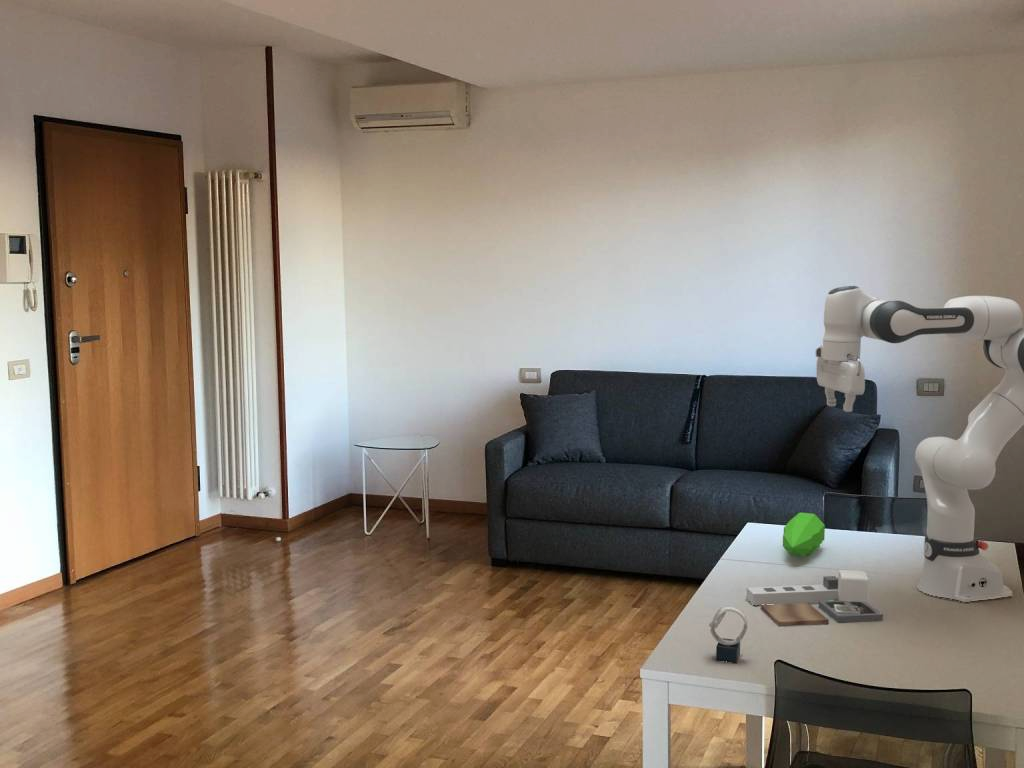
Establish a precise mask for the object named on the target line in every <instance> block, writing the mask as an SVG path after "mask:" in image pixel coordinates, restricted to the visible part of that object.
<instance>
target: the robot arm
mask: <svg viewBox="0 0 1024 768" xmlns="http://www.w3.org/2000/svg"><path fill="white" fill-rule="evenodd" d="M824 302H825V304H824V312H823V325H824V335H823V338H822V340H823V341H822V344H821V345H820V346H818V347H817V348H816V349H815V357H816V358H817V360H816V368H815V369H816V381H817V384H818V386H820V387H824V394H825V397H826V405H827V406H829V407H835V406H837V399H836V397H835V392H836V391H838V392H840V393H844V398H845V401H844V403H842V411H844V412H845V413H846V412H847V413H849V412H850V413H851V412H853V406H854V403H855V401H856V398H857V397H856V396H862V395H864V393H865V390H866V381H865V380H866V378H865V377H866V375H865V368H864V364H862V361H861V343H862V338H863V337H865V338H869V339H873V340H879V341H883V342H887V343H890V344H901V343H904V342H906V341H908V340H910V339H912V338H915V337H918V336H921V335H922V336H924V335H942V334H943V335H946V336H947V337H949V338H952V339H957V340H962V341H983V348H982V349H983V354H984V356H985V358H986V360H987V361H988V362H989V363H990V364H992V365H993V366H995V367H996V368H999V369H1004V370H1005V373H1004V376H1003V377H1002V379H1001V381H1000V383H999V384H998V385H996V386H995V387H994V388H993V389H992V390H991V391H990V392H989V393H988V394H987V395H986V396H985V397H984V398H983V399H982V400H981V401H980V402H979V403H978V405H976V406H975V407H974V408H973V409H972V411H971V412H970V413H969V414H968V417H967V422H968V423H967V426H966V427H965V430H964V431H963V433H962V435H961V436H960V437H959V438H958V439H954V438H951V437H947V436H930V437H927V438H926V437H925V439H923V440H922V441H920V442H919V444H918V445H917V447H916V449H915V453H914V457H915V462H916V465H917V466H918V468H919V470H920V474H921V477H922V480H923V486H924V490H925V491H924V492H925V497H926V502H927V503H926V504H927V516H926V517H927V518H926V519H927V520H926V521H927V522H926V534H925V535H924V541H923V543H924V545H923V553H924V554H923V555H924V559H923V560H924V561H923V567H922V571H921V575H920V579H919V582H918V584H917V586H916V587H917V589H918V591H919V592H921V591H922V592H921V593H923V594H925V593H927V594H926V595H928V594H929V596H931V595H933V596H932V597H935V596H938V597H937V598H939V597H945V598H951V599H950V600H952V599H957V600H963V601H971V600H975V599H982V598H988V597H994V596H1002V595H1011V594H1012V595H1013V591H1012V590H1011V589H1010V588H1009V587H1008V586H1007V585H1005V584H1004V580H1003V579H1004V578H1003V575H1002V574H1003V573H1002V572H1001V570H1000V568H999V567H998V566H997V565H995V564H994V562H992V561H990V560H989V559H988V558H986V556H984V555H983V554H981V552H980V550H982V551H987V550H988V549H989V544H988V542H986V541H983V540H979V539H977V538H975V535H974V534H975V518H976V517H975V515H976V510H975V506H974V503H973V502H972V500H971V498H970V495H969V492H968V490H969V491H970V490H973V491H974V490H975V491H977V490H983V489H984V488H986V487H988V486H989V485H990V484H991V483H992V482H993V480H994V478H995V476H996V462H997V460H998V457H999V455H1000V454H1001V451H1002V450H1003V449H1004V447H1005V445H1006V444H1007V443H1009V441H1010V440H1011V438H1013V436H1014V435H1015V434H1017V432H1019V430H1020V429H1021V428H1022V427H1023V426H1024V325H1023V316H1024V315H1023V310H1022V308H1021V306H1020V304H1019V303H1018V302H1017V301H1015V300H1013V299H1010V298H1005V297H999V296H992V295H966V296H958V297H955V298H951V299H949V300H947V301H946V303H945V304H944V305H943V306H942V307H916V306H914V305H912V304H911V303H909V302H906V301H903V300H884V299H880V298H877V297H875V296H872V295H870V294H869V293H866V292H865V291H864V290H862V289H861V288H860V287H859V286H857V285H847V286H840V287H839V286H838V287H835V288H833V289H831V290H830V291H828V294H827V295H826V298H825V301H824ZM1004 589H1007V590H1009V591H1005V590H1004ZM945 598H944V599H945Z"/></svg>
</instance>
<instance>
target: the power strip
mask: <svg viewBox="0 0 1024 768" xmlns="http://www.w3.org/2000/svg"><path fill="white" fill-rule="evenodd" d="M822 577H823V578H822V580H823V581H822V584H805V585H804V584H803V585H801V584H799V585H780V586H779V585H778V586H758V587H757V586H755V587H752V586H751V587H746V598H745V599H746V600H747V601H748V600H749V601H750V602H751V603H752V604H753V605H762V604H764V605H767V604H797V603H809V604H819V601H829V600H834V601H837V600H839V596H838V577H837V576H836V575H830V576H828V575H827V576H822ZM749 601H748V602H749ZM750 602H749V603H750ZM751 603H750V604H751ZM752 604H751V605H752ZM753 605H752V606H753Z"/></svg>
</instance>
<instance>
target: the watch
mask: <svg viewBox="0 0 1024 768" xmlns="http://www.w3.org/2000/svg"><path fill="white" fill-rule="evenodd" d="M727 612H733V613H735V614H737V615H739V617H741V619H742V620H743V623H744V625H743V629H742V630H741V632H740V633H739V635H738V636H737V637H736V638H735V639H733V638H724V637H723V638H722V637H720V636H719V635H718V633H717V632H716V631H715V629H717V628H718V627H719V625H720V623H721V622H722V621H723V618H724V617H725V615H726V614H727ZM748 622H749V621H748V619H747V615H746V614H745V613H744V612H743V611H742V610H741V609H739V608H738V607H735V606H730V605H729V606H728V605H727V606H724V607H722V606H721V607H720V608H719V609H718V611H717V612H716V613H715V614H714V616H713V618H712V619H711V621H710V623H709V628H710V630H709V631H710V634H711V636H712V637H713V639H714V640H715V641H716V642H717V645H716V649H715V652H716V653H715V661H716V662H721V661H724V662H723V663H729V662H733V663H732V664H738V661H739V658H740V654H741V641H742V640H743V638H744V637H745V634H746V632H747V629H748V627H749V625H748ZM737 660H738V661H737ZM726 661H727V662H726Z"/></svg>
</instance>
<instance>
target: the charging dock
mask: <svg viewBox="0 0 1024 768" xmlns="http://www.w3.org/2000/svg"><path fill="white" fill-rule="evenodd" d="M850 603H851V604H852V605H853V606H860V607H862V608H863V609H864V610H863V609H862V608H861V609H862V610H863V611H864V612H866V613H860V614H848V615H840V614H839V613H837V612H836V611H835V610H834V604H837V605H846V604H845V603H844V602H843V601H842V602H840V600H837V601H834V600H829V601H819V603H818V608H819V609H820V610H822V612H823V613H825V614H827V615H828V616H829V617H830V618H832V619H833V620H834V621H835V622H836V623H856V622H857V621H863V622H879V620H882V621H884V620H883V617H884V616H883V615H884V614H883V613H881V611H878V610H877V609H876V608H875V607H873V606H872V605H870V604H869V602H867V603H864V602H850ZM860 607H859V608H860ZM867 612H868V613H867ZM857 623H858V622H857Z"/></svg>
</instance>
